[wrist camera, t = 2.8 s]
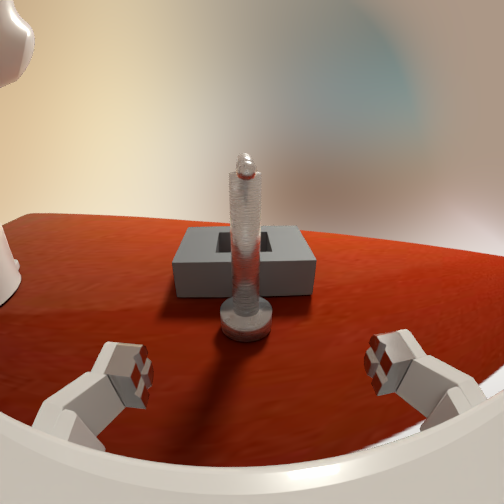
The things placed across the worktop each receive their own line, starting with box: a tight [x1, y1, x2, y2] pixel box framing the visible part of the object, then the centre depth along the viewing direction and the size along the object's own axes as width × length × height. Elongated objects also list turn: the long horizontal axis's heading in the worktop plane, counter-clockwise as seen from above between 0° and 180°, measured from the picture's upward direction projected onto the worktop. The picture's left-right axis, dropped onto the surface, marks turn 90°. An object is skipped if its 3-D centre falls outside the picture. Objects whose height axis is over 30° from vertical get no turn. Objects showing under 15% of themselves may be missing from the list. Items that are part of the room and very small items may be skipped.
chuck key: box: [220, 153, 272, 342], centre depth 21 cm, size 4×7×14 cm, turn 3°
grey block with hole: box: [172, 226, 316, 297], centre depth 32 cm, size 14×10×4 cm
